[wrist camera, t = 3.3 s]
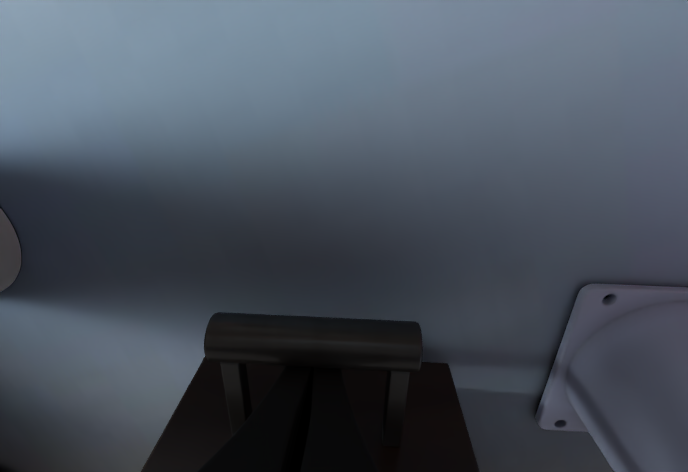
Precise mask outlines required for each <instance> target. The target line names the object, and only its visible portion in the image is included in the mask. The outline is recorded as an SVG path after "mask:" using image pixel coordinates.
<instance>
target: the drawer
mask: <svg viewBox="0 0 688 472" xmlns="http://www.w3.org/2000/svg"><path fill="white" fill-rule="evenodd" d="M204 351H205V358H204V359H203V361H202V363H201V365H200V367H199V368H198V370H197V372H196V374H195V375H194V377H193V379H192V381H191V383H190V384H189V386H188V388H187V390H186V392H185V393H184V395H183V397H182V399H181V401H180V402H179V404H178V406H177V408H176V410H175V411H174V413H173V415H172V417H171V419H170V420H169V422H168V424H167V426H166V428H165V429H164V431H163V433H162V435H161V437H160V438H159V440H158V442H157V444H156V445H155V447H154V449H153V451H152V453H151V454H150V456H149V458H148V460H147V462H146V463H145V465H144V467H143V469H142V471H141V472H197V471H198V470H199V469H200V468H201V467H202V466H203V465H204V464H205V463H206V462H207V461H208V460H209V459H210V458H211V457H212V456H213V455H214V454H215V453H216V452H217V451H218V450H219V449H220V448H221V447H222V446H223V445H224V444H225V443H226V442H227V441H228V440H229V439H230V438H231V437H232V436H233V435H234V433H235V432H236V431H237V430H238V429H239V428H240V427H241V426H242V424H243V423H244V422H245V421H246V420H247V418H248V417H249V416H250V415H251V414H252V412H253V411H254V410H255V409H256V407H257V406H258V405H259V403H260V402H261V401H262V399H263V398H264V397H265V395H266V394H267V393H268V391H269V390H270V389H271V387H272V386H273V384H274V383H275V381H276V380H277V378H278V377H279V375H280V374H281V372H282V371H283V369H284V367H285V366H300V367H319V368H338V369H341V372H342V377H343V381H344V385H345V388H346V392H347V395H348V399H349V402H350V405H351V408H352V411H353V414H354V417H355V420H356V422H357V425H358V427H359V430H360V432H361V435H362V437H363V439H364V442H365V444H366V446H367V449H368V451H369V453H370V455H371V457H372V459H373V461H374V463H375V465H376V467H377V469H378V471H379V472H479V468H478V465H477V461H476V458H475V454H474V451H473V448H472V444H471V441H470V437H469V434H468V430H467V427H466V424H465V420H464V417H463V413H462V410H461V406H460V403H459V400H458V396H457V393H456V389H455V386H454V382H453V379H452V376H451V372H450V369H449V365H448V364H447V363H431V362H422V352H423V346H422V333H421V328H420V325H419V323H417V322H414V321H393V320H371V319H350V318H329V317H308V316H286V315H265V314H244V313H223V312H218V313H215V314H214V315H213V316H212V317H211V319H210V321H209V323H208V325H207V329H206V333H205V340H204Z"/></svg>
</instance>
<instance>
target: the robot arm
mask: <svg viewBox="0 0 688 472" xmlns="http://www.w3.org/2000/svg"><path fill="white" fill-rule="evenodd" d="M608 294H610V295H609V297H607V298H606V299H603V298H604V297H605V296H606V295H608ZM535 419H536V422H537V424H538V425H539V427H540V428H542V429H545V430H559V431H577V432H589V433H590V434H591V436H592V438H593V439H594V441H595V442H596V444H597V446H598V447H599V449H600V450H601V452H602V454H603V455H604V457H605V458H606V460H607V462H608V463H609V465H610V466H611V468H612V469H613V471H614V472H688V287H667V286H644V285H620V284H597V283H594V284H589V285H586V286H584V287H583V288H582V289H581V290H580V292H579V293H578V296H577V299H576V302H575V304H574V307H573V310H572V313H571V316H570V319H569V322H568V324H567V327H566V330H565V333H564V336H563V339H562V342H561V344H560V347H559V350H558V353H557V356H556V359H555V362H554V364H553V367H552V370H551V373H550V376H549V379H548V382H547V384H546V387H545V390H544V393H543V396H542V399H541V402H540V405H539V407H538V410H537V413H536V416H535ZM197 472H379V471H378V469H377V467H376V465H375V463H374V461H373V459H372V457H371V455H370V453H369V451H368V449H367V446H366V444H365V442H364V439H363V437H362V435H361V432H360V430H359V427H358V425H357V422H356V420H355V417H354V414H353V411H352V408H351V405H350V402H349V399H348V395H347V392H346V388H345V385H344V381H343V377H342V372H341V369H338V368H319V367H300V366H285V367H284V369H283V371H282V372H281V374H280V375H279V377H278V378H277V380H276V381H275V383H274V384H273V386H272V387H271V389H270V390H269V391H268V393H267V394H266V395H265V397H264V398H263V399H262V401H261V402H260V403H259V405H258V406H257V407H256V409H255V410H254V411H253V412H252V414H251V415H250V416H249V417H248V418H247V420H246V421H245V422H244V423H243V424H242V426H241V427H240V428H239V429H238V430H237V431H236V432H235V433H234V435H233V436H232V437H231V438H230V439H229V440H228V441H227V442H226V443H225V444H224V445H223V446H222V447H221V448H220V449H219V450H218V451H217V452H216V453H215V454H214V455H213V456H212V457H211V458H210V459H209V460H208V461H207V462H206V463H205V464H204V465H203V466H202V467H201V468H200V469H199V470H198V471H197Z"/></svg>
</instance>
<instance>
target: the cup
mask: <svg viewBox="0 0 688 472" xmlns="http://www.w3.org/2000/svg"><path fill="white" fill-rule="evenodd" d="M20 267H21V249H20V244H19V241H18V238H17V235H16V233H15V230H14V228H13V226H12V224H11V223H10V221H9V219H8V218H7V216H6V215H5V213H4V212H3V211H2V209H1V208H0V292H1V291H3V290H4V289H6V288H7V287H9V286H10V285H11V284H12V283H13V282H14V281H15V279H16V277H17V276H18V273H19V271H20Z"/></svg>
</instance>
